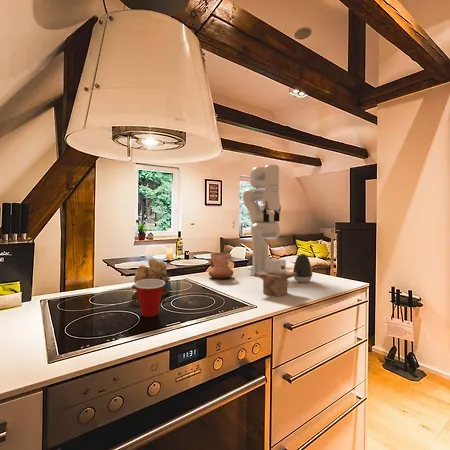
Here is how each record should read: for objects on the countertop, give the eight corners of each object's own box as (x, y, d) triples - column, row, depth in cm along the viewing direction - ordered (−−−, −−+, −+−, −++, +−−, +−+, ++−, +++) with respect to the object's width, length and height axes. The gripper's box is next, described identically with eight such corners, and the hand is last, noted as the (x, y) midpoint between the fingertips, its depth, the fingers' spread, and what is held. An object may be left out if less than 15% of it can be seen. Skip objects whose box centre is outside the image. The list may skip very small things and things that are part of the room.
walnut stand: (254, 293, 131) (254, 273, 131) (271, 287, 142) (271, 268, 141) (280, 299, 122) (280, 277, 122) (296, 292, 132) (296, 272, 132)
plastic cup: (137, 322, 96) (137, 286, 96) (132, 312, 106) (131, 280, 106) (169, 316, 101) (168, 283, 101) (161, 308, 111) (160, 277, 111)
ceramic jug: (239, 278, 164) (239, 253, 164) (219, 281, 155) (218, 255, 155) (221, 274, 178) (221, 251, 178) (201, 276, 170) (201, 253, 170)
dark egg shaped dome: (310, 279, 160) (310, 252, 159) (314, 284, 149) (314, 255, 149) (291, 279, 161) (291, 252, 160) (294, 283, 150) (294, 255, 150)
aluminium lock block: (265, 272, 133) (265, 259, 132) (271, 270, 136) (271, 258, 136) (281, 274, 127) (281, 261, 126) (286, 273, 130) (286, 260, 130)
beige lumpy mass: (163, 289, 140) (163, 255, 139) (176, 294, 131) (176, 257, 130) (127, 296, 128) (127, 258, 128) (138, 302, 119) (138, 261, 119)
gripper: (274, 190, 158) (274, 221, 159) (255, 188, 145) (255, 221, 146) (286, 189, 153) (286, 221, 154) (268, 187, 140) (268, 222, 141)
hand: (271, 221), depth 150 cm, fingers open, 9 cm apart
